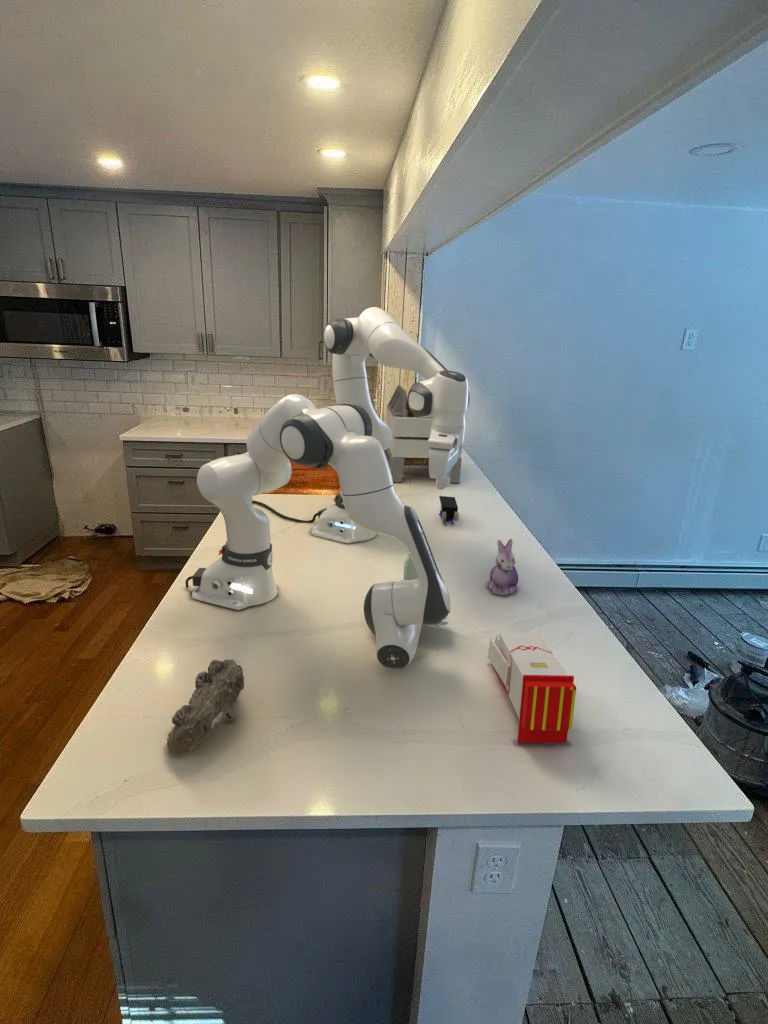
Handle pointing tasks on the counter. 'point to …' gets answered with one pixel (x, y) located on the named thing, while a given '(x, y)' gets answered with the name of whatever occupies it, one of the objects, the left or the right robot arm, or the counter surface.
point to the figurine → (504, 571)
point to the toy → (534, 687)
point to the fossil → (206, 705)
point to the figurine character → (448, 509)
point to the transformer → (410, 438)
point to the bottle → (409, 569)
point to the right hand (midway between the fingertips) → (442, 486)
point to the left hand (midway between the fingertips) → (411, 593)
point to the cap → (446, 481)
